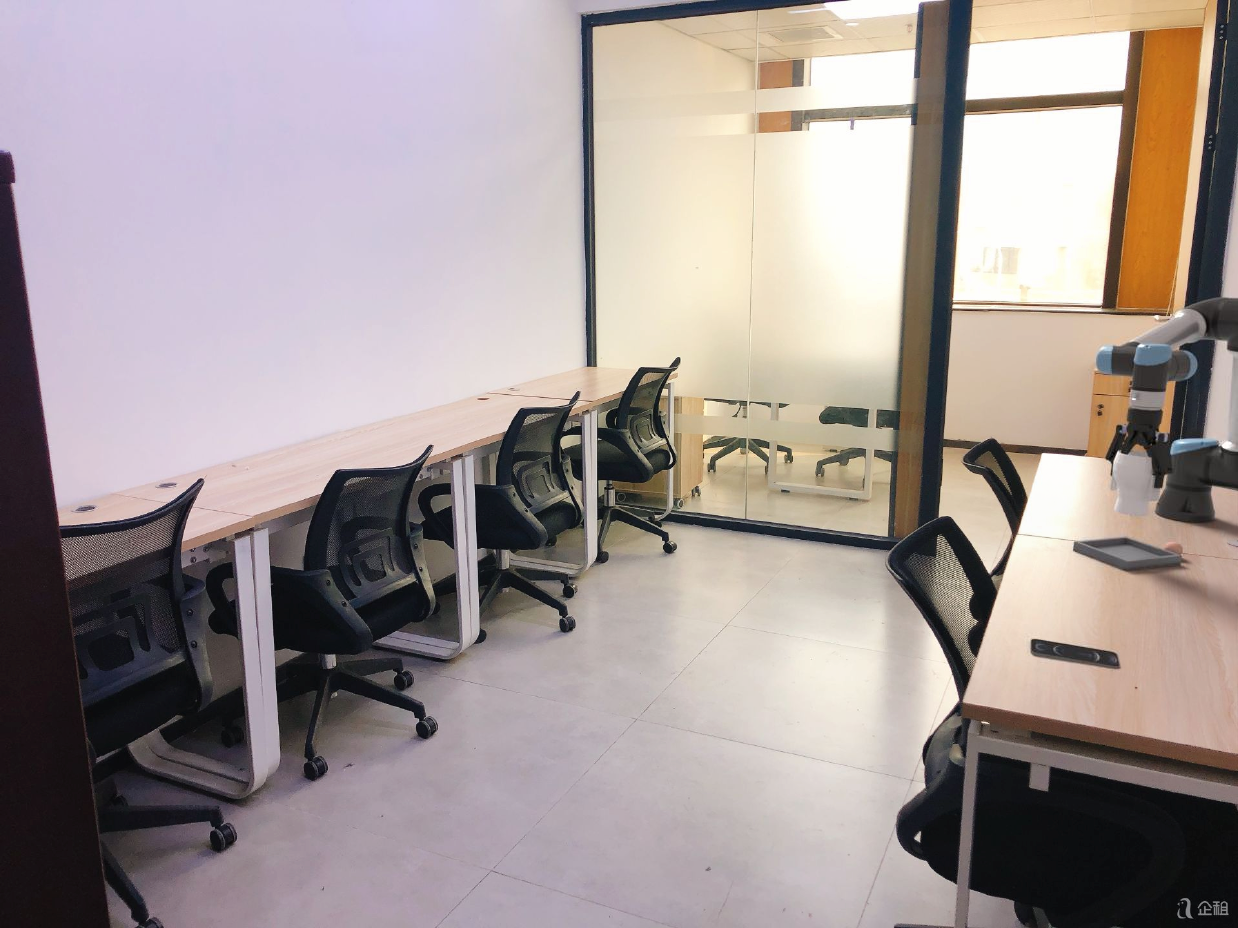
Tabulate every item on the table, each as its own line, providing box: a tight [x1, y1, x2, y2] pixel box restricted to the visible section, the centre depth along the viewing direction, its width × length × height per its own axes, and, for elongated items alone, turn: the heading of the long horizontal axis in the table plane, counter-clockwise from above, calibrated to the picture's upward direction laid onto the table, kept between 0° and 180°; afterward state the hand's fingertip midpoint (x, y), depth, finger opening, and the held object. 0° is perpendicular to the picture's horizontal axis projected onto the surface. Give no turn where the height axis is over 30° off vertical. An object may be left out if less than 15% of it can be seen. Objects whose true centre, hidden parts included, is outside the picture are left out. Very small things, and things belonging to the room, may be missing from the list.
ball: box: [1163, 541, 1183, 555], centre depth 234 cm, size 4×4×4 cm
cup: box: [1113, 449, 1154, 517], centre depth 230 cm, size 11×11×15 cm
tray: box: [1072, 535, 1183, 572], centre depth 233 cm, size 17×17×2 cm
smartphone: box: [1030, 638, 1121, 669], centre depth 175 cm, size 8×1×15 cm
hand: (1133, 495), depth 230 cm, fingers closed on cup, 11 cm apart
